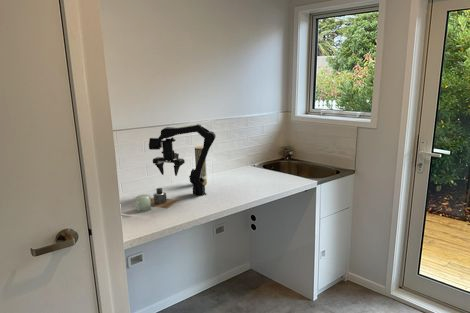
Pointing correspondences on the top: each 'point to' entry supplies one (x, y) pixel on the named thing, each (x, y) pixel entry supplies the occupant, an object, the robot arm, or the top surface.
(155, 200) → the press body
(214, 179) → the top surface
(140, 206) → the sage mug
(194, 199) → the top surface
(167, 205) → the walnut board
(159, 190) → the plunger
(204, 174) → the paper tube
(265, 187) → the top surface
